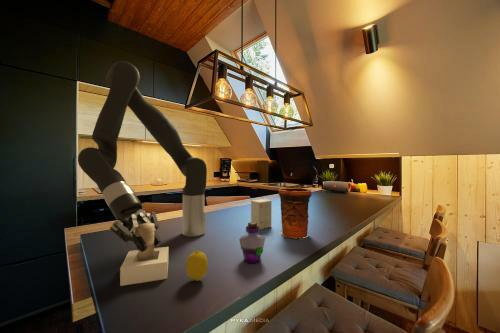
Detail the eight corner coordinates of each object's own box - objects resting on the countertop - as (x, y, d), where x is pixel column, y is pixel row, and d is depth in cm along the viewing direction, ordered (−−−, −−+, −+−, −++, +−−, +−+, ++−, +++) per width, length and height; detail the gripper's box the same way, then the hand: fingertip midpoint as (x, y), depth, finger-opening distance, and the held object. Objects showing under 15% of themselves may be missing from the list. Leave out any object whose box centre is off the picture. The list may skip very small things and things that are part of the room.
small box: (263, 224, 109) (263, 198, 109) (271, 227, 104) (272, 200, 104) (250, 226, 105) (250, 200, 104) (258, 230, 99) (259, 202, 99)
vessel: (273, 237, 90) (274, 189, 90) (281, 228, 103) (282, 187, 104) (308, 242, 85) (309, 191, 85) (312, 232, 98) (313, 188, 98)
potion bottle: (257, 269, 63) (257, 228, 63) (233, 261, 68) (233, 223, 67) (270, 258, 70) (270, 221, 70) (248, 252, 75) (248, 217, 75)
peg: (154, 256, 63) (155, 222, 63) (153, 262, 59) (153, 226, 59) (139, 257, 62) (139, 223, 62) (137, 264, 58) (137, 227, 58)
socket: (168, 260, 68) (168, 246, 68) (167, 278, 57) (167, 261, 57) (129, 265, 64) (129, 251, 64) (120, 285, 54) (120, 268, 54)
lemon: (188, 275, 59) (188, 246, 59) (208, 274, 60) (209, 246, 59) (184, 287, 54) (184, 255, 53) (206, 286, 54) (206, 254, 54)
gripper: (104, 195, 57) (136, 248, 52) (148, 189, 70) (177, 231, 65) (91, 212, 59) (121, 265, 54) (136, 204, 72) (163, 246, 67)
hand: (151, 246), depth 60 cm, fingers closed on peg, 4 cm apart
